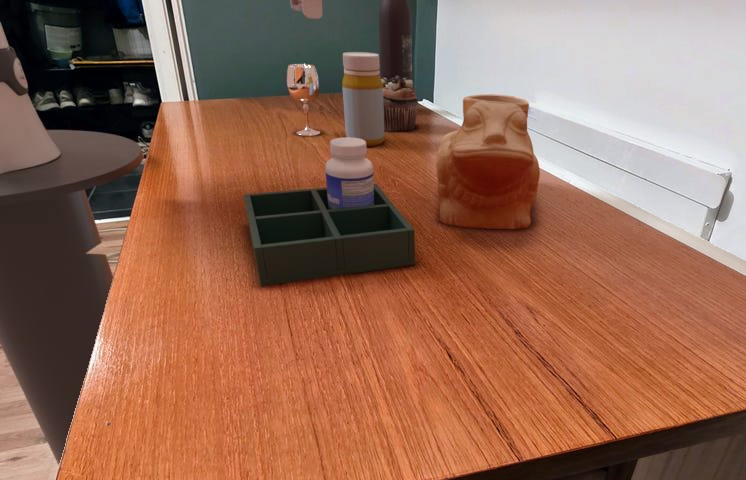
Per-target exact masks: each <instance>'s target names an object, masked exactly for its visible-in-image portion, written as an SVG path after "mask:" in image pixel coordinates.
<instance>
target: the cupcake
mask: <svg viewBox="0 0 746 480" xmlns="http://www.w3.org/2000/svg"><path fill="white" fill-rule="evenodd" d="M380 78H381V81H382V86H383V108H384V131H389V132H407V131H411V130H414V129H415V128H416V123H417V122H416V120H417V117H418V110H419V100H418V97H417V96H418V95H417V92H416V90H415V89H414V82H413V79H412V80H409V79H408V78H399V75H393V76H391V77H388V76H386V75H383V76H381V75H380ZM388 78H392V79H391V80H389V79H388Z"/></svg>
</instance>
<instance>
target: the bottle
mask: <svg viewBox="0 0 746 480" xmlns="http://www.w3.org/2000/svg"><path fill="white" fill-rule="evenodd" d="M342 62H343V63H342V65H343V66H342V67H343V73H344V74H343V78H342V82H341V84H342V86H341V87H342V88H341V89H342V102H343V115H344V127H345V128H344V129H345V130H344V131H345V137H350V138H359V139H362V140H364V141H365V142H366V147H374V146H375V147H376V146H380V145H381V144H382V143H383V142H384V141H385V130H384V108H383V86H382V81H381V78H380V77H381V70H380V54H379V53H374V52H367V51H366V52H364V51H347V52H343V53H342Z"/></svg>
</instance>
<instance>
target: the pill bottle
mask: <svg viewBox="0 0 746 480" xmlns="http://www.w3.org/2000/svg"><path fill="white" fill-rule="evenodd" d="M329 152H330V155H331V156H332V157H331V158H329V159H328V160H327V161H326V162H325V166H324V168H325V169H324V170H325V171H324V172H325V183H326V188H327V196H328V208H329V209H340V208H350V207H361V206H371V205H374V184H375V182H374V164H373V163H372V161H371V160H370V159H369V158H367V157H366V156H367V153H368V150H367V146H366V142H365V141H364V140H362V139H359V138H350V137H346V136H345V137H336V138H332V139H330V140H329Z"/></svg>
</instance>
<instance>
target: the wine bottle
mask: <svg viewBox="0 0 746 480" xmlns="http://www.w3.org/2000/svg"><path fill="white" fill-rule="evenodd" d="M412 27H413V26H412V12H411V8H410V4H409V2H408V0H381V1H380V3H379V8H378V39H379V40H378V41H379V70H380V77H381V76H383V75H386V76H388V77H391V76H393V75H399V78H408V79H409V80H412V81H413V47H412V46H413V42H412V39H413V38H412V36H413V34H412V31H413V30H412ZM388 79H389V80H391V79H392V78H388Z"/></svg>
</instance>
